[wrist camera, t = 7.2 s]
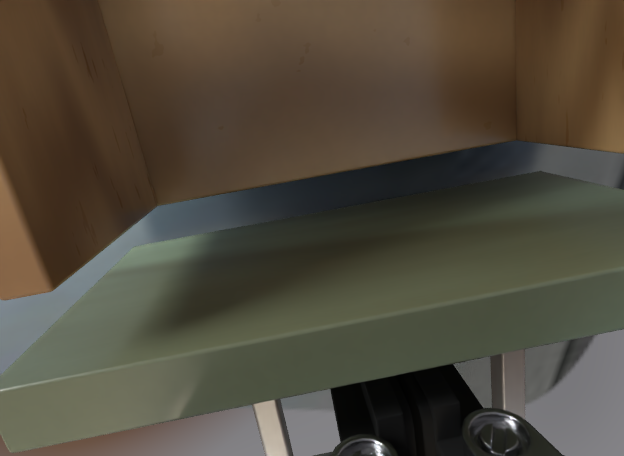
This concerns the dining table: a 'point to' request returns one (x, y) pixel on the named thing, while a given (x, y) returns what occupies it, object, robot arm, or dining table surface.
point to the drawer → (306, 228)
